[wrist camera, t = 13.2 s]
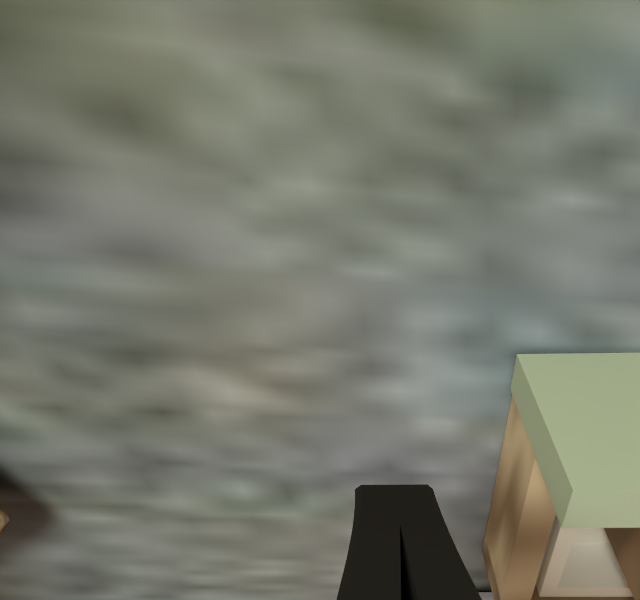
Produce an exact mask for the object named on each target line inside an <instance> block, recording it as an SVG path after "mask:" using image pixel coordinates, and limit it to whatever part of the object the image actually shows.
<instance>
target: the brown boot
mask: <svg viewBox="0 0 640 600" xmlns="http://www.w3.org/2000/svg"><path fill="white" fill-rule="evenodd" d="M9 521H10V519H9V516H8V514H7V513H6V512H4V511H3V510H2V509H1V508H0V533H1V532H2V530H3V528H4V526H5V525H6V524H7V523H8V522H9Z"/></svg>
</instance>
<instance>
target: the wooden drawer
mask: <svg viewBox="0 0 640 600" xmlns="http://www.w3.org/2000/svg"><path fill="white" fill-rule="evenodd" d="M510 390H511V392H512V395H513V398H514V400H515V403H516V406H517V409H518V411H519V414H520V417H521V419H522V422H523V425H524V428H525V430H526V433H527V436H528V438H529V441H530V444H531V446H532V449H533V452H534V455H535V457H536V460H537V463H538V465H539V468H540V471H541V474H542V476H543V479H544V482H545V484H546V487H547V490H548V493H549V495H550V498H551V501H552V503H553V506H554V509H555V511H556V516H555V519H554V523H553V526H552V530H551V533H550V536H549V540H548V543H547V547H546V550H545V554H544V557H543V560H542V564H541V567H540V571H539V574H538V578H537V581H536V587H537V590H538V593H539V597H633V594H632V592H631V590H630V588H629V585H628V583H627V581H626V578H625V576H624V574H623V571H622V569H621V567H620V565H619V562H618V560H617V558H616V555H615V553H614V551H613V549H612V546H611V544H610V542H609V539H608V537H607V535H606V533H605V530H604V528H640V353H575V354H517V356H516V361H515V367H514V372H513V377H512V382H511V388H510Z"/></svg>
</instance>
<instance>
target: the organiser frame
mask: <svg viewBox="0 0 640 600" xmlns="http://www.w3.org/2000/svg"><path fill="white" fill-rule="evenodd" d="M555 516H556V511H555V509H554V506H553V503H552V501H551V498H550V495H549V493H548V490H547V487H546V484H545V482H544V479H543V476H542V474H541V471H540V468H539V465H538V463H537V460H536V457H535V455H534V452H533V449H532V446H531V444H530V441H529V438H528V436H527V433H526V430H525V428H524V425H523V422H522V419H521V417H520V414H519V411H518V409H517V406H516V403H515V400H514V398H513V395H512V400H511V405H510V410H509V415H508V420H507V426H506V431H505V436H504V441H503V446H502V451H501V456H500V461H499V467H498V472H497V477H496V482H495V487H494V492H493V497H492V502H491V508H490V513H489V518H488V523H487V528H486V533H485V538H484V543H483V548H482V552H483V556H484V560H485V565H486V569H487V573H488V578H489V582H490V586H491V590H492V595H493V599H494V600H635V599H634V597H539V593H538V590H537V587H536V581H537V578H538V574H539V571H540V567H541V564H542V560H543V557H544V554H545V550H546V547H547V543H548V540H549V536H550V533H551V530H552V526H553V523H554V519H555Z"/></svg>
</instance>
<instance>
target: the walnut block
mask: <svg viewBox="0 0 640 600" xmlns="http://www.w3.org/2000/svg"><path fill="white" fill-rule="evenodd" d="M604 530H605V533H606V535H607V537H608V539H609V542H610V544H611V546H612V549H613V551H614V553H615V555H616V558H617V560H618V562H619V565H620V567H621V569H622V571H623V574H624V576H625V578H626V581H627V583H628V585H629V588H630V590H631V592H632V594H633V597H634V599H635V600H640V528H604Z"/></svg>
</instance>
